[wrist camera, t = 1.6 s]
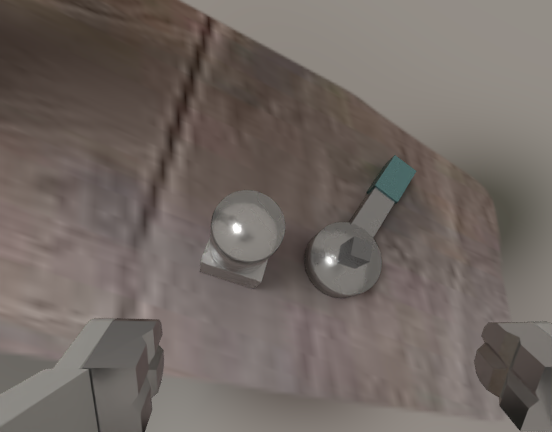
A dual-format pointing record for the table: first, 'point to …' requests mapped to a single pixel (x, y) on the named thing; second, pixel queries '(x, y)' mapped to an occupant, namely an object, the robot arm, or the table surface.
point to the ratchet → (356, 238)
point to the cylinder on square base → (243, 238)
